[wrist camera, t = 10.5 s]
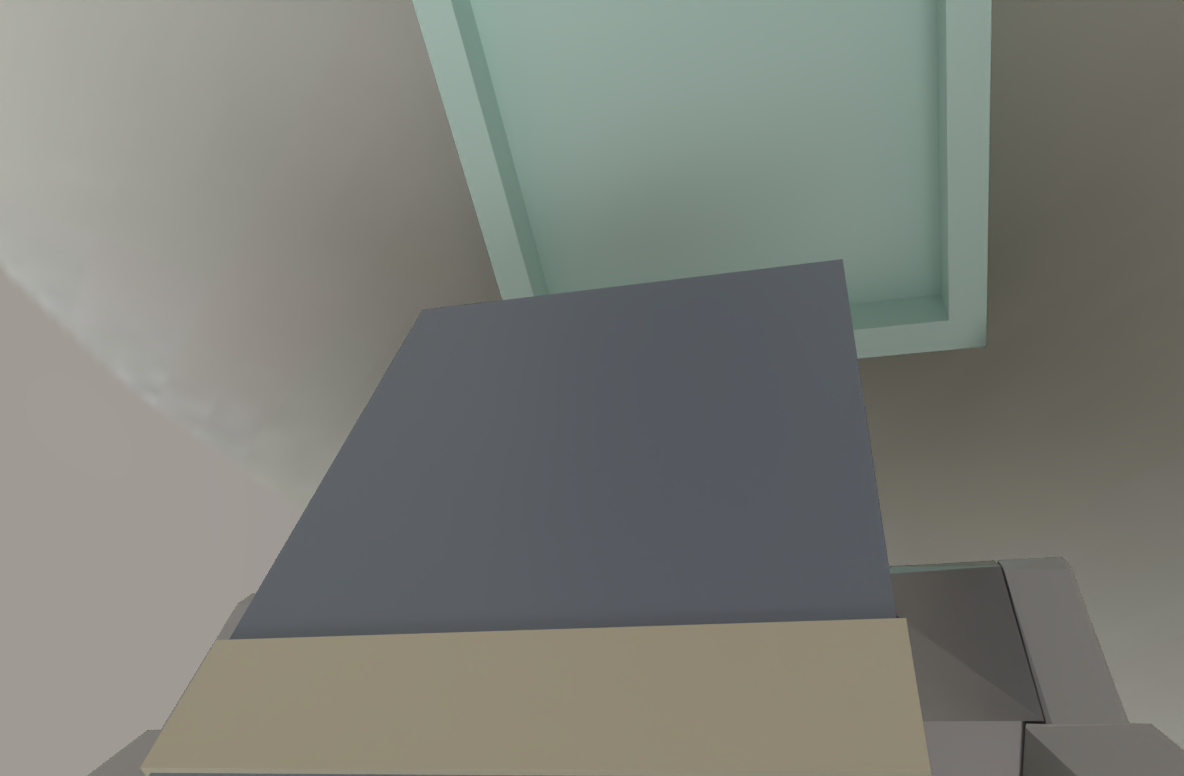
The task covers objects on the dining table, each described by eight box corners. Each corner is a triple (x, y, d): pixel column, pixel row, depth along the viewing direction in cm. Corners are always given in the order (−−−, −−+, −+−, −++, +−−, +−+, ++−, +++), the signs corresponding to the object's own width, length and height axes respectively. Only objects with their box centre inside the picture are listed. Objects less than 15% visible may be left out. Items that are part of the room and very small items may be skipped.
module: (847, 254, 9) (1012, 1283, 3) (871, 584, 12) (991, 1529, 6) (416, 306, 10) (-87, 1146, 4) (521, 598, 13) (298, 1399, 7)
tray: (976, -282, 17) (996, -283, 15) (972, 307, 23) (986, 346, 22) (402, -142, 19) (372, -130, 18) (542, 352, 26) (528, 389, 24)
